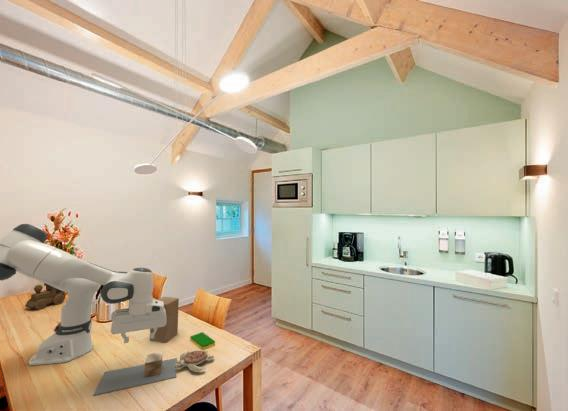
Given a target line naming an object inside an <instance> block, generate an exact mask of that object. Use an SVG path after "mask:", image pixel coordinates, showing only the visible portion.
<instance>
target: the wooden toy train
mask: <svg viewBox="0 0 568 411" xmlns="http://www.w3.org/2000/svg"><path fill="white" fill-rule="evenodd" d="M44 287H45V290H44V291H42V290H43V288H44ZM33 291H34V292H35V293H32V294H31V295H30V298H29V299H28V300H27V301H26V304H25V305H24V307H25V308H28V309H35V310H38V311H39V310H43V309H44V308H45V307H46V306H47V305H49V304H51V303H52V304H54V305H55V306H57V305H60V304H62V303H63V302H64V300H65V299H66V292H64V291H61V290H59V289H57V288H54V287H52V286H50V285H48V284H46V283H44V282H43V285H42V284H38V285H37V284H36V285H35V286H34V287H33Z"/></svg>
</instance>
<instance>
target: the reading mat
mask: <svg viewBox="0 0 568 411" xmlns="http://www.w3.org/2000/svg"><path fill="white" fill-rule="evenodd" d="M177 362H178V357H176V358H169V359H164V360H162V369H161V374H159V375H154V376H150V377H145V378H144V374H145V363H144V364H139V365H134V366H128V367H124V368H123V367H122V368H118V369H114V370H109V371H108V370H107V371H104V372H103V374H102V376H101V378H100V380H99V382H98V383H97V384H98V385H97V387H96V388H95V390H94V392H93V397H95V396H99V395H103V394H108V393H112V392H118V391H120V390H125V389H126V390H127V389H130V388H134V387H139V386H144V385H148V384H154V383H159V382H163V381H167V380H171V379H176V378H177V372H178V371H177V370H178V369H176V368H175V365H176V363H177Z"/></svg>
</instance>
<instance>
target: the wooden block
mask: <svg viewBox="0 0 568 411" xmlns="http://www.w3.org/2000/svg"><path fill="white" fill-rule="evenodd" d="M179 299H180V298H179V297H170V296H169V297H168V296H162V297H161V298H158V299H157V300H158V301H163V302H164V308H165V310H166V317H167V323H166V325H165V326H164V327H158V328H157V331H156V333H155V334H154V338H152V339H150V338H149V341H150V342H151V341H152V342H158V343H165V344H166V343H168V342H169V341H170V340H172V338H174V337H176V336H177V335H178V333H179V331H178V329H179V328H178V327H179V303H180V301H179ZM153 332H154V328H152V329H149V335H150V334H151V333H153Z"/></svg>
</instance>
